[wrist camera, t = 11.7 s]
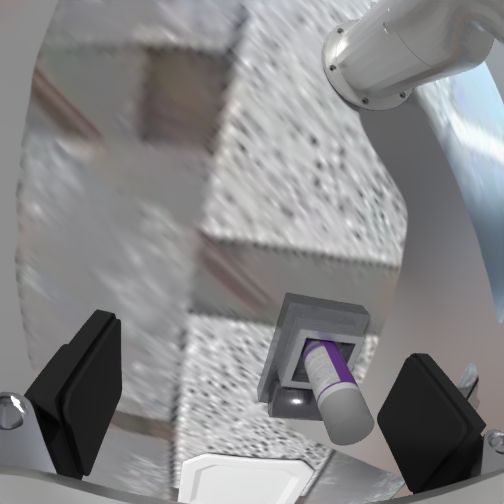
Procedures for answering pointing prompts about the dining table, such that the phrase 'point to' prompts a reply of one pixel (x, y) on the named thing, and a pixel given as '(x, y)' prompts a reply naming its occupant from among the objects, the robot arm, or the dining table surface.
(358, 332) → the block
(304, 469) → the plate
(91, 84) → the dining table surface
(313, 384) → the container
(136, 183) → the dining table surface
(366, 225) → the dining table surface
